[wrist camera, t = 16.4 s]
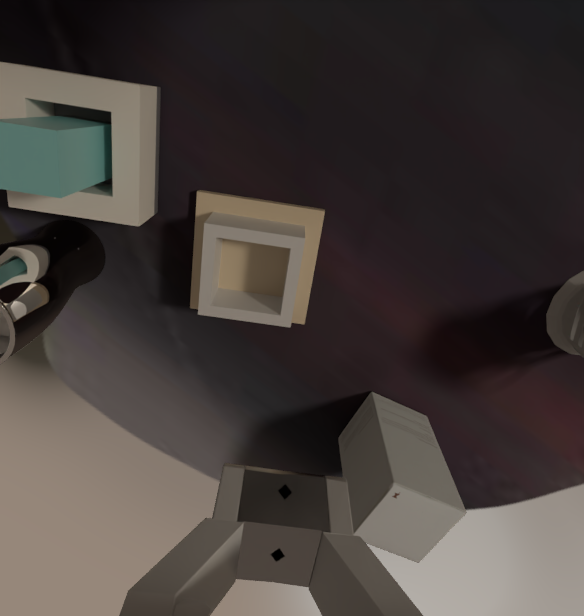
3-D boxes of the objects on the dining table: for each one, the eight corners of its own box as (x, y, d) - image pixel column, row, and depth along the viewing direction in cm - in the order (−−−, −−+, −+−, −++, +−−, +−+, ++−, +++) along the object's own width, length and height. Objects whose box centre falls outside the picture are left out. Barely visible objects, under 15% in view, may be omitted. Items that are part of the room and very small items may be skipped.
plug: (68, 115, 35) (-13, 119, 26) (118, 123, 36) (56, 130, 27) (70, 167, 37) (-4, 188, 28) (119, 174, 37) (61, 198, 28)
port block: (32, 66, 35) (-9, 60, 30) (160, 87, 35) (140, 85, 31) (42, 194, 39) (8, 206, 35) (157, 212, 40) (139, 226, 35)
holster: (198, 189, 39) (186, 201, 34) (324, 209, 39) (327, 222, 35) (191, 304, 43) (179, 327, 39) (304, 320, 44) (304, 344, 39)
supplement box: (335, 437, 50) (346, 538, 38) (371, 388, 47) (394, 481, 35) (391, 462, 51) (418, 566, 40) (429, 416, 48) (470, 513, 37)
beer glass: (107, 294, 43) (18, 383, 29) (33, 277, 42) (-93, 360, 29) (113, 225, 40) (18, 288, 26) (34, 205, 39) (-106, 260, 26)
